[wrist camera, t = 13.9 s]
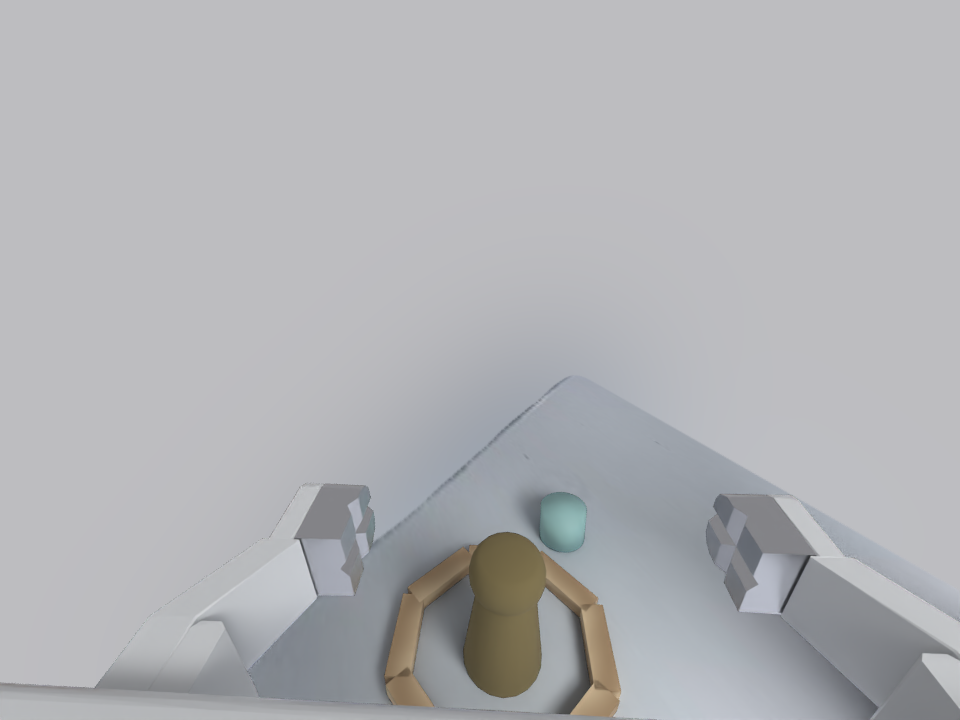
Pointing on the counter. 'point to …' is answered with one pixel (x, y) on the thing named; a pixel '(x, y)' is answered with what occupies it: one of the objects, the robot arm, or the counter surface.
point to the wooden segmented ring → (564, 586)
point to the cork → (505, 615)
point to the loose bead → (562, 521)
